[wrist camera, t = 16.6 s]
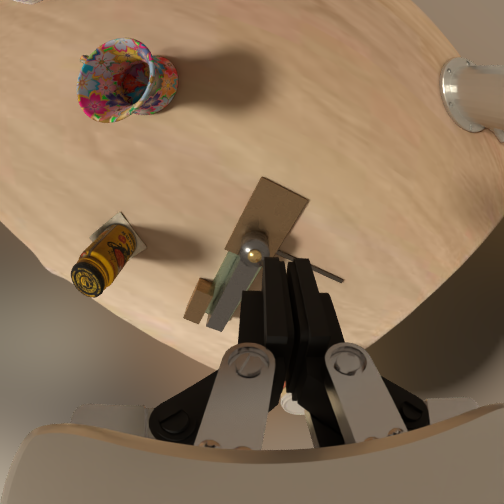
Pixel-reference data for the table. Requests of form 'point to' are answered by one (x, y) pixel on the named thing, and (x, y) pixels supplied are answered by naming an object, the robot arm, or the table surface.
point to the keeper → (210, 291)
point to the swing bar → (238, 278)
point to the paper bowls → (28, 1)
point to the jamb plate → (270, 219)
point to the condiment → (106, 256)
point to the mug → (124, 81)
